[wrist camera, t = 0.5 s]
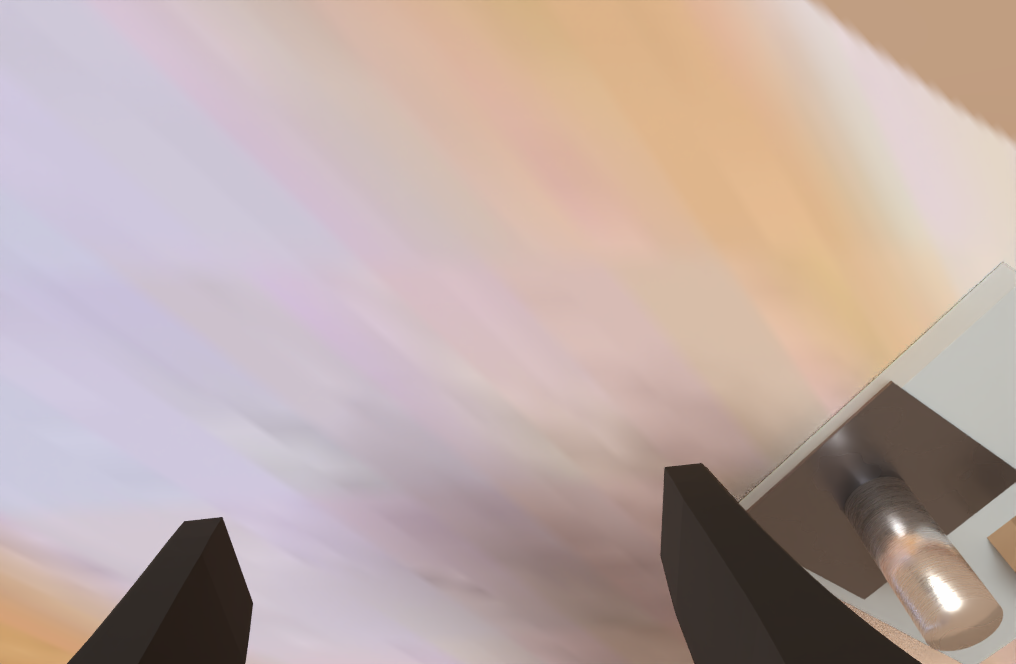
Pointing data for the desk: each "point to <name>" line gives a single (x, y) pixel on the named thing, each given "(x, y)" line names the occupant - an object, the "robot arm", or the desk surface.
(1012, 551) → the collar
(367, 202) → the desk surface
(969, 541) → the board
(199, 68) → the desk surface
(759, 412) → the desk surface
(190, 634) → the robot arm
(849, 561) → the post
